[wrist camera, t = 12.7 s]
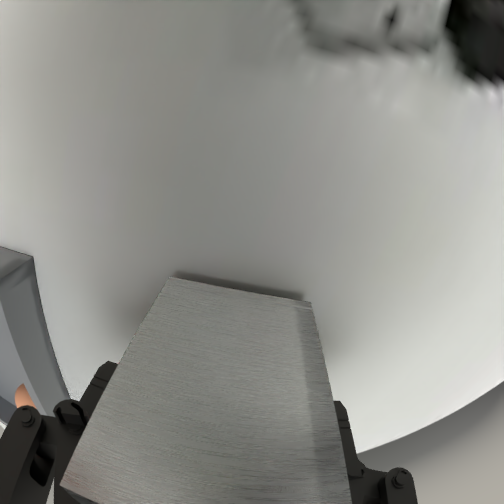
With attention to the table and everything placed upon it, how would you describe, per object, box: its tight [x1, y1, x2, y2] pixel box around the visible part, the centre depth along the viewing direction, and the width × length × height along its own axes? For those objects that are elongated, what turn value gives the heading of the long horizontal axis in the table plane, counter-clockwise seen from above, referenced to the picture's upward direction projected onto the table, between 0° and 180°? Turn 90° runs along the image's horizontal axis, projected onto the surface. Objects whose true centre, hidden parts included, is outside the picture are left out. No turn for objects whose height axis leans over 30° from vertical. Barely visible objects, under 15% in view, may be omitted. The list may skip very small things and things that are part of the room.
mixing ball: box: [15, 383, 37, 409], centre depth 16 cm, size 4×4×4 cm
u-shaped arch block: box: [60, 277, 352, 504], centre depth 9 cm, size 6×6×10 cm
